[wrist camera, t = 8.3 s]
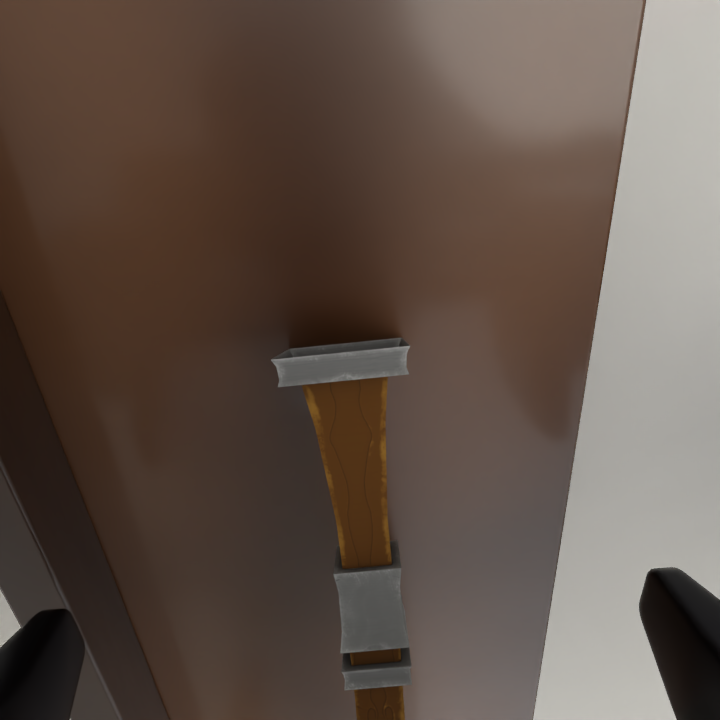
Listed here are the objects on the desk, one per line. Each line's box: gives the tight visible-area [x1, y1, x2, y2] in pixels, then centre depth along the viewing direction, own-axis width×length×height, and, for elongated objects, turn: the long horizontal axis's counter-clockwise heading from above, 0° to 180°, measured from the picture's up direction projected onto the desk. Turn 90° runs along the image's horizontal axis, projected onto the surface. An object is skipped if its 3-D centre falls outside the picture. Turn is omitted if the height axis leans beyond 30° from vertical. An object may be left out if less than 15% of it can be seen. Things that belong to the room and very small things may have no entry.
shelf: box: [0, 0, 646, 720], centre depth 13 cm, size 10×18×8 cm, turn 3°
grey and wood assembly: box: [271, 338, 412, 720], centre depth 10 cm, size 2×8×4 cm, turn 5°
